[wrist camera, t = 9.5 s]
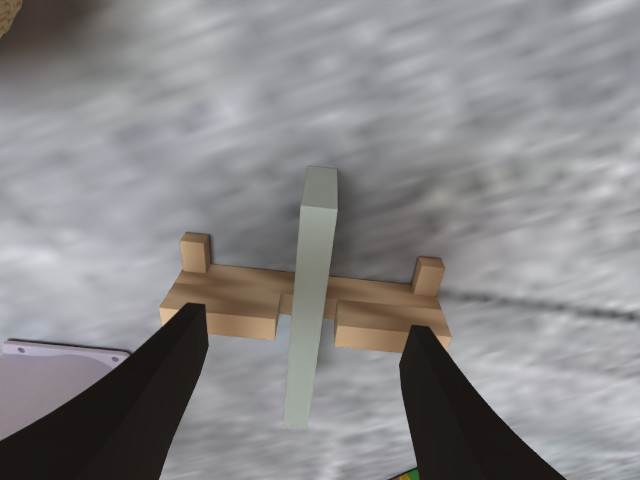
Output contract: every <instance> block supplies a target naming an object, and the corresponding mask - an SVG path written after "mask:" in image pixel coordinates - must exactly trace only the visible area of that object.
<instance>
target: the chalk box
mask: <svg viewBox="0 0 640 480" xmlns="http://www.w3.org/2000/svg"><path fill="white" fill-rule="evenodd" d="M392 480H419V473H418V468H417V469H415V470H413V471H410V472H408V473H406V474H404V475H401V476H399V477H397V478H394V479H392Z"/></svg>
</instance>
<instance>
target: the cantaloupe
mask: <svg viewBox="0 0 640 480" xmlns="http://www.w3.org/2000/svg"><path fill="white" fill-rule="evenodd" d="M22 1H23V0H0V38H1V37H2V35H3V34H4V33H6V32H7V31H8V30H9V29H10V27H11V25H12V23H13V20H14V18H15V16H16V15H17V13H18V12H19V10H20V8H21V6H22Z"/></svg>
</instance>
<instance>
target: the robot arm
mask: <svg viewBox="0 0 640 480" xmlns="http://www.w3.org/2000/svg"><path fill="white" fill-rule="evenodd" d="M208 346H209V344H208V332H207V319H206V306H205V304H200V303H190V302H187V303H186V304H185V305H184V306H183V307H182V308H181V309H180V310H179V311H178V312H177V313H176V314H175V315H174V316H173V317H172V318H171V319H170V320H169V321H168V322H166V323H165V324H164V325H163V326H162V327H161V328H160V329H159V330H158V331H157V332H156V333H155V334H154V335H153V336H152V337H150V338H149V339H148V340H147V341H146V342H145V343H144V344H143V345H142V346H141V347H139V348H138V349H137V350H136V351H135V352H134V353H132V354H131V355H129V354H128V353H126V352H121V351H111V350H100V349H90V348H80V347H69V346H59V345H49V344H39V343H28V342H18V341H5V342H4V343H3V344H2V346H1V347H2V350H3V352H4V354H3V355H2V357H1V358H0V480H159V478H160V475H161V472H162V469H163V466H164V462H165V459H166V456H167V453H168V450H169V448H170V445H171V442H172V440H173V437H174V435H175V432H176V430H177V428H178V425H179V423H180V421H181V418H182V416H183V414H184V411H185V409H186V407H187V404H188V402H189V400H190V397H191V395H192V393H193V390H194V388H195V386H196V383H197V381H198V379H199V376H200V374H201V370H202V367H203V364H204V361H205V357H206V353H207V350H208ZM399 368H400V380H401V390H402V396H403V401H404V406H405V410H406V415H407V420H408V424H409V429H410V433H411V438H412V442H413V447H414V452H415V456H416V461H417V467H418V473H419V480H567V479H565V478H564V477H563V476H562V475H561V474H559V473H558V472H557V471H556V470H555V469H554V468H552V467H551V466H550V465H549V464H548V463H547V462H545V461H544V460H543V459H542V458H541V457H540V456H539V455H538V454H537V453H536V452H534V451H533V450H532V449H531V448H530V447H529V446H528V445H527V444H526V443H525V442H524V441H523V440H522V439H521V438H520V437H518V436H517V435H516V434H515V433H514V432H513V431H512V430H511V429H510V427H509V426H508V425H507V424H506V423H505V422H504V421H503V420H502V419H501V418H500V417H499V416H498V415H497V414H496V413H495V412H494V411H493V410H492V408H491V407H490V406H489V405H488V404H487V403H486V402H485V400H484V399H483V398H482V397H481V396H480V394H479V393H478V392H477V391H476V390H475V388H474V387H473V386H472V385H471V383H470V382H469V381H468V380H467V378H466V377H465V376H464V374H463V373H462V372H461V370H460V369H459V368H458V366H457V365H456V364H455V362H454V361H453V360H452V358H451V357H450V355H449V354H448V353H447V351H446V350H445V348H444V347H443V346H442V344H441V343H440V341H439V340H438V338H437V337H436V336H435V334H434V333H433V331H432V330H431V328H430V327H429V326H421V325H411V328H410V331H409V334H408V338H407V341H406V344H405V347H404V351H403V354H402V357H401V360H400V363H399Z"/></svg>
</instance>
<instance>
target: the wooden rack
mask: <svg viewBox="0 0 640 480" xmlns="http://www.w3.org/2000/svg"><path fill="white" fill-rule="evenodd" d="M180 246H181V255H182V264H183V269H182V271H181V273H180V274H179V276H178V278H177V279H176V281H175V283H174V284H173V286H172V288H171V289H170V291H169V292H168V294H167V296H166V297H165V299H164V301H163V302H162V304H161V306H160V307H159V310H160V316H161V322H162V326H163V325H164V324H165V323H166V322H168V321H169V320H170V319H171V318H172V317H173V316H174V315H175V314H176V313H177V312H178V311H179V310H180V309H181V308H182V307H183V306H184V305H185V304H186V303H187V302H190V303H200V304H205V306H206V319H207V332H208V334H215V335H225V336H235V337H245V338H255V339H266V340H275V335H276V329H277V324H278V319H279V314H287V315H292V308H293V296H294V283H295V273H291V272H282V271H272V270H262V269H252V268H243V267H233V266H223V265H214V264H211V263H210V247H209V235H206V234H196V233H187V232H186V233H185V234H184V236H183V237H182V239H181V240H180ZM444 270H445V267H444V265H443V263H442V260H441V259H436V258H426V257H418V261H417V264H416V268H415V271H414V275H413V278H412V282H411V285H408V284H399V283H389V282H379V281H369V280H360V279H350V278H340V277H330V276H328V284H327V291H326V298H325V305H324V313H323V318H327V319H334V346H337V347H347V348H357V349H367V350H377V351H387V352H397V353H403V351H404V347H405V344H406V341H407V338H408V334H409V331H410V328H411V325H421V326H429V327H430V328H431V330H432V331H433V333H434V334H435V336H436V337H437V338H438V340H439V341H440V343H441V344H442V346H443V347H444V348H445V350H447V347H448V345H449V342H450V340H451V334H450V331H449V328H448V326H447V323H446V320H445V318H444V315H443V312H442V309H441V307H440V304H439V301H438V298H437V296H436V294H437V291H438V288H439V285H440V282H441V279H442V276H443V273H444Z"/></svg>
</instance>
